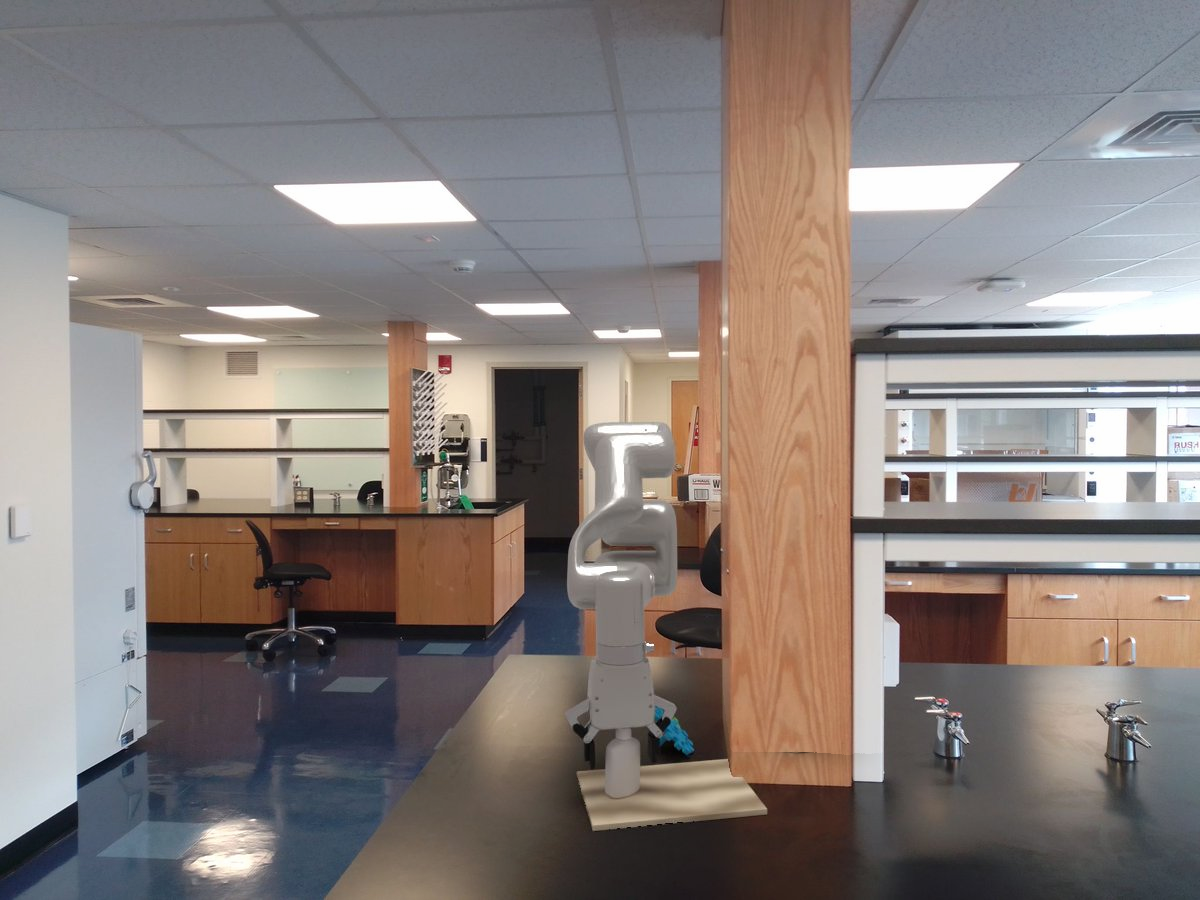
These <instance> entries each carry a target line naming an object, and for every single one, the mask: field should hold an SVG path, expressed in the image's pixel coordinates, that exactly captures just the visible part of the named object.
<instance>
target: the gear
mask: <svg viewBox="0 0 1200 900" xmlns="http://www.w3.org/2000/svg"><path fill="white" fill-rule="evenodd" d="M663 714H664V709H662V708H660V707H657V706H655V720H654V721H655V722H657V721H658V720H659V719H660V718H661V716H662V715H663ZM688 737H689V735H688V733H687V732H686V731H685V730H684V729H682V728H681V725H680V723H679V720H678V719H677V718H676V717H675V716H673V718H672V720H671V724H670V725H669V726H668V727H667V728H666V729H665V731H664V732H663V733H662V736H661V737H660V747H661V746H662V745H663V744H664V743H665V742H666V741H667V742H671V740H672V741H673V742H674V743H673V746H674V748H676V749H677V751H680V750H681V751H682V753H684V754H685V755H686V756H689V754H690V755H691V754H692V753H694V751H695V749H694V747H693V746H694V744H693V743H694V742H693V741H691V740H690V739H689V738H688Z"/></svg>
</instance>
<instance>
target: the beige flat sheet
mask: <svg viewBox="0 0 1200 900" xmlns="http://www.w3.org/2000/svg"><path fill="white" fill-rule="evenodd" d="M728 759H729V758H723V759H712V760H700V761H688V762H676V763H662V764H654V765H653V764H652V765H640V788H639V790H638V791H637V792H636V793H634V794H632V795H630V796H627V797H622V798H612V797H610V796H609V795H607V794H606V793H605V768H604V769H593V770H592V769H590V770H579V771H576V778H578V779H577V782H578V781H579V782H578V786H579V785H580V786H579V788H581V789H580V792H581V795H583V796H582V799H583V802H585V803H584V806H585V805H586V806H585V809H586V813H587V812H588V813H587V816H588V820H589V823H590V826H591V829H592V832H595V831H607V830H609V829H610V830H618V829H617V828H620V829H628V828H627V827H631V828H639V827H638V826H641V827H648V826H647V825H652V826H658V825H657V824H662V825H666V824H665V823H673V824H678V823H677V822H683V823H692V822H693V821H694V822H701V821H711V820H722V819H732V818H734V819H735V818H744V817H754V816H764V815H768V808H767V807H766V805H765V804H764V803H763V802H762V801H761V799H760V798H759V796H758V795H757V793H755V791H754V790H753V789H752V787H751V786H750V785H749V783H748V782H747V781H746V779H745V778H744V777H743V776H742V777H733V776H732V775H731V772H730V768H729V762H728ZM610 830H609V831H610Z"/></svg>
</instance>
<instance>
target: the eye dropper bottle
mask: <svg viewBox="0 0 1200 900" xmlns="http://www.w3.org/2000/svg"><path fill="white" fill-rule="evenodd" d="M640 766H641V744H640V741H639V739H637V738H635V737H633V736H632V728H622V729H615V738H613V739H612V740H611V741H610V742H609V743H608V744H607V746H606V748H605V767H604V769H605V793H606V794H607V795H609V796H610V797H612V798H622V797H627V796H630V795H632V794H634V793H636V792H637V791H638V790H639V788H640Z"/></svg>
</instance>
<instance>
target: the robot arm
mask: <svg viewBox="0 0 1200 900" xmlns="http://www.w3.org/2000/svg"><path fill="white" fill-rule="evenodd" d="M583 446H584V450H585V453H586V455H587V459H589V463H590V464H591V466H592V468H593V470H594V478H595V479H594V509H593V510H592V511H591V512H590V513H589V514H588V515H587V516H586V517H584V519H583V520H582V521H581V522H580V524H579V526H578V527H577V529H576V530H575V531H574V533H573V535H572V538H571V540H570V543H569V547H568V554H567V555H568V556H567V573H566V574H567V578H566V588H567V590H566V591H567V597H568V600H569V602H570V603H571V604H572V606H573V607H575V608H577V609H579V610H595V652H596V653H595V658H592V660H591V661H590V664H589V673H588V679H587V680H588V681H587V682H588V684H587V698H586V699H585V700H583V701H581V702H580V703H577V704H576V705H574V706H573V707H571V708H570V709H567V710H566V711H565V713H564V715H565V717H566V720H567V722H568V723H569V726H570V727H571V729H572V730H573V732H574V734H577V736H578V737H579V738H580V739H581V740H583V760H584V762H588V766H589V768H590V770H592V769H593V770H595V768H596V746H595V745H596V744H595V741H594V737H596V736H597V734H598V732H599V731H601V730H602V731H603V730H604V731H605V730H606V731H607V730H616V729H622V728H631V729H632V728H633V729H634V728H644V727H647V728H648V729H649V731H648V732H647V756H648V758H649V760H650V762H651V763H652V765H653V764H654V765H656V764H658V763H657V762H658V756H660V755H661V746H660V737H661V736H662V733H663V732H664V731H665V729H666V728H667V727H668V726H669V725H670V724H671V720H672V719H673V718H674V717H675V716H674V715H675V713H676V712H677V709H678V708H677V706H676V704H675V703H673V702H671V701H669V700H667V699H665V698H663V697H660V696H658V695H656V694H655V692H654V691H655V689H654V681H653V675H652V674H653V673H652V670H651V669H652V668H651V664H650V661H649V658H648V657H647V655H648V654H649V653H652V652H655V645H654V643H653V642H647V641H646V639H645V638H646V637H645V636H646V635H645V631H646V630H645V608H646V607H648V605H649V604H650V603H651V600H652V599H653V598H654V597H667V596H670V595H672V594H673V593H674V592H675V590H676V589H677V584H678V526H677V517H676V515H677V514H676V512H675V509H674V507H673V506H672V504H671V503H670V502H668V501H666V500H662V499H647V500H646V499H644V493H643V492H644V489H643V479H667V478H670V477H671V476H672V475H673V473H674V471H675V468H676V461H677V460H676V458H677V457H676V446H675V441H674V438H673V433H672V430H671V428H670V426H669V425H668V424H667V423H665V422H663V421H662V422H661V421H649V422H648V421H641V422H639V421H637V422H632V421H631V422H630V421H628V422H627V421H622V422H621V421H620V422H619V421H618V422H617V421H615V422H614V421H612V422H598V423H595V424H591V425H589V426H588V427H586V428H585V429H584V432H583ZM600 539H601V540H602V542H604V543H605V544H606V545H608V546H611V547H652V548H653V549H655V550H612V551H606V552H603V553H602V554H600V555H598V556H597V557H596V559H595V560H594V562H585V557H586V553H587V551H588V549H589V548H590V547H591V546H592V545H593V544H594V543H596V542H597V541H599V540H600ZM655 707H656V708H657V707H660V708H661V709H662V710H663V715H662V716H661V718H660V719H659V720H658V721H657V722H656V721H655ZM586 712H587V713H586ZM584 713H586V714H587V718H588V719H589V721H588V722H587V723H586V724H585V726H583V725H582V724H581V723H580V722H579V721H578V717H579V716H581V715H583V714H584Z"/></svg>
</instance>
